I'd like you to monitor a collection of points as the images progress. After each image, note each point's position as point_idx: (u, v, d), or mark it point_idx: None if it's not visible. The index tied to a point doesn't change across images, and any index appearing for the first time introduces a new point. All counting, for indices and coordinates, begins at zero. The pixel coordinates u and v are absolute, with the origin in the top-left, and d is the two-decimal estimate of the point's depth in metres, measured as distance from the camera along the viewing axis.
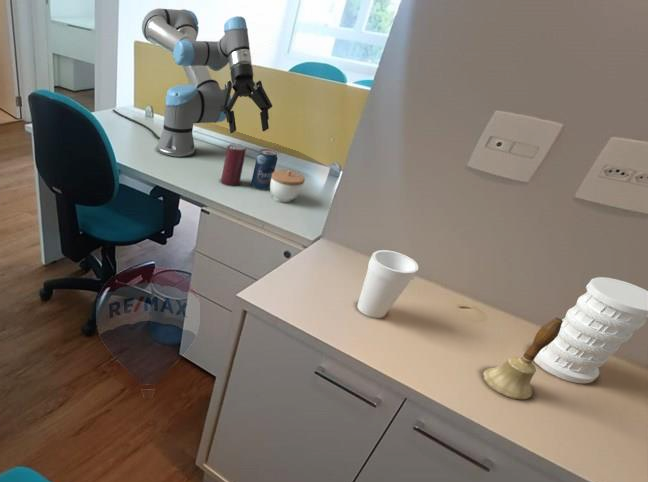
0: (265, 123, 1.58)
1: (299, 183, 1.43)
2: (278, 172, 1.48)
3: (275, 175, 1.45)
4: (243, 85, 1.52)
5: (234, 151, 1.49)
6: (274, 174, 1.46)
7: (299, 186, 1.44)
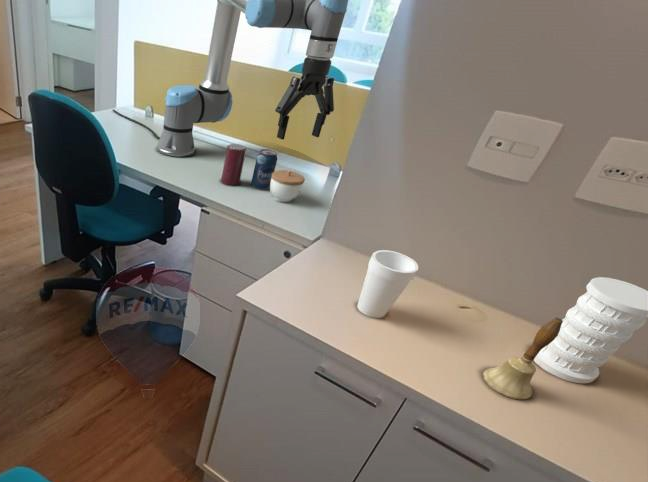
0: (317, 130, 1.39)
1: (299, 183, 1.43)
2: (278, 172, 1.48)
3: (275, 175, 1.45)
4: (312, 86, 1.28)
5: (234, 151, 1.49)
6: (274, 174, 1.46)
7: (299, 186, 1.44)
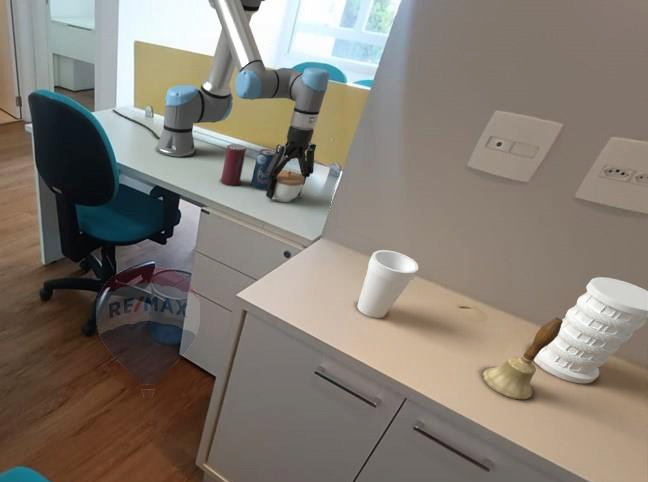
0: None
1: (299, 183, 1.43)
2: None
3: None
4: (295, 151, 1.39)
5: (234, 151, 1.49)
6: None
7: (299, 186, 1.44)
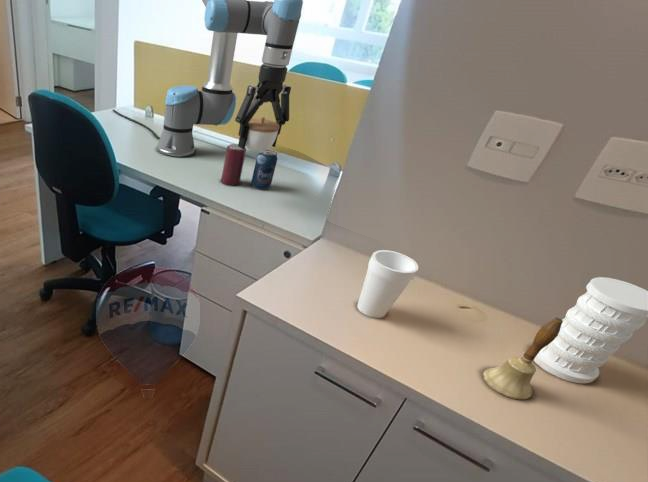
0: None
1: (273, 130, 1.31)
2: (251, 120, 1.35)
3: None
4: (268, 93, 1.27)
5: (234, 151, 1.49)
6: None
7: (273, 133, 1.32)
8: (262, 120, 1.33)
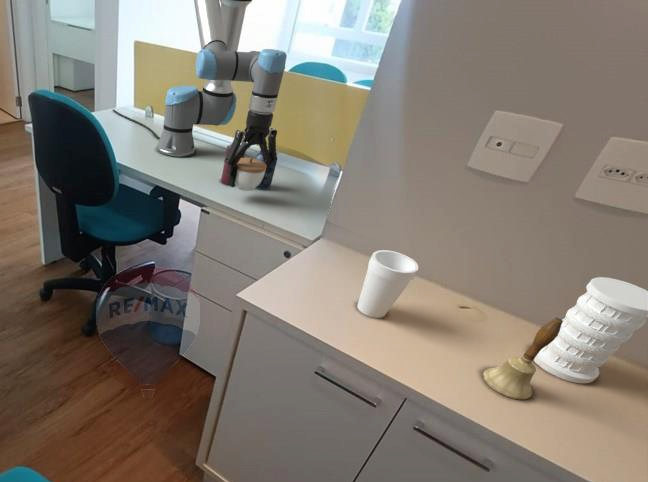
0: None
1: (260, 170, 1.38)
2: (240, 159, 1.43)
3: None
4: (255, 137, 1.34)
5: None
6: None
7: (260, 174, 1.39)
8: (250, 161, 1.41)
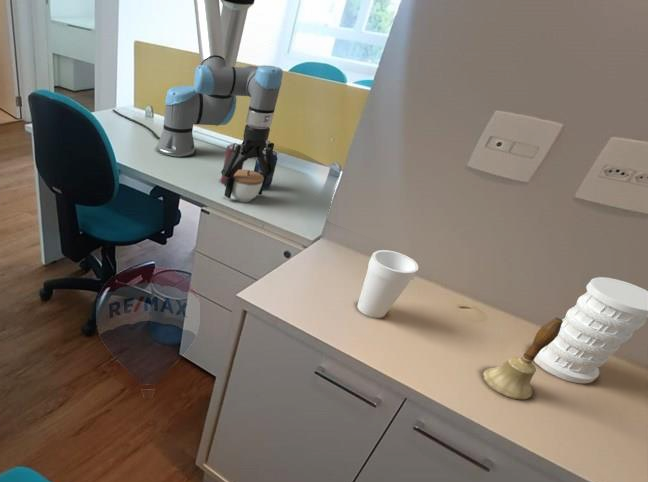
0: None
1: (257, 182, 1.41)
2: (237, 171, 1.45)
3: (234, 174, 1.43)
4: (252, 150, 1.37)
5: None
6: None
7: (258, 186, 1.42)
8: (247, 173, 1.43)
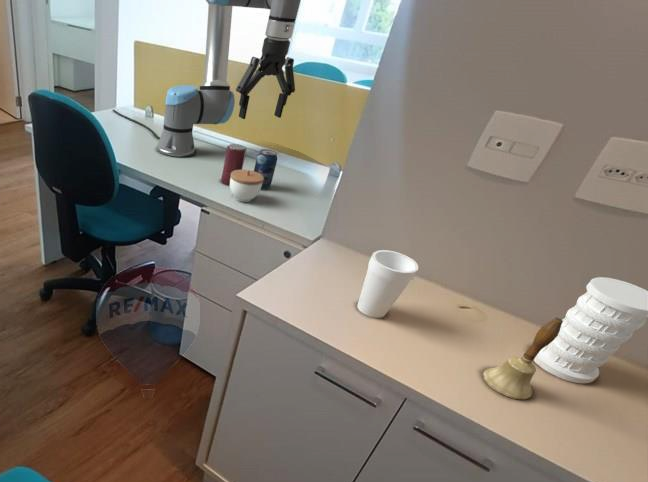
0: (279, 110, 1.42)
1: (257, 182, 1.41)
2: (237, 171, 1.45)
3: (234, 174, 1.43)
4: (271, 66, 1.31)
5: (234, 151, 1.49)
6: (233, 173, 1.44)
7: (258, 186, 1.42)
8: (247, 173, 1.43)
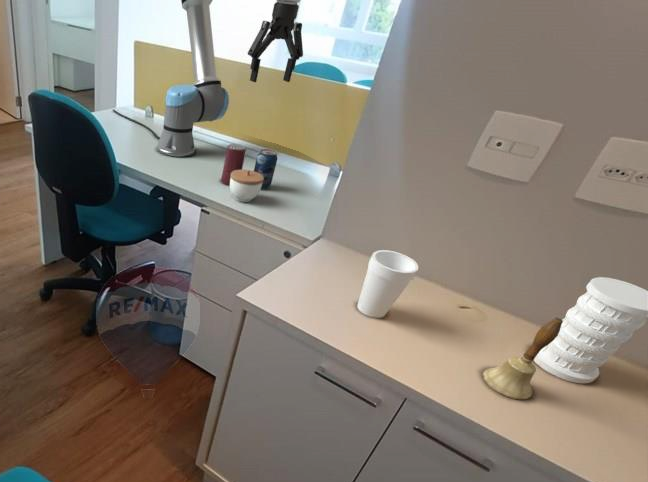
0: (288, 75, 1.49)
1: (257, 182, 1.41)
2: (237, 171, 1.45)
3: (234, 174, 1.43)
4: (281, 30, 1.38)
5: (234, 151, 1.49)
6: (233, 173, 1.44)
7: (258, 186, 1.42)
8: (247, 173, 1.43)
